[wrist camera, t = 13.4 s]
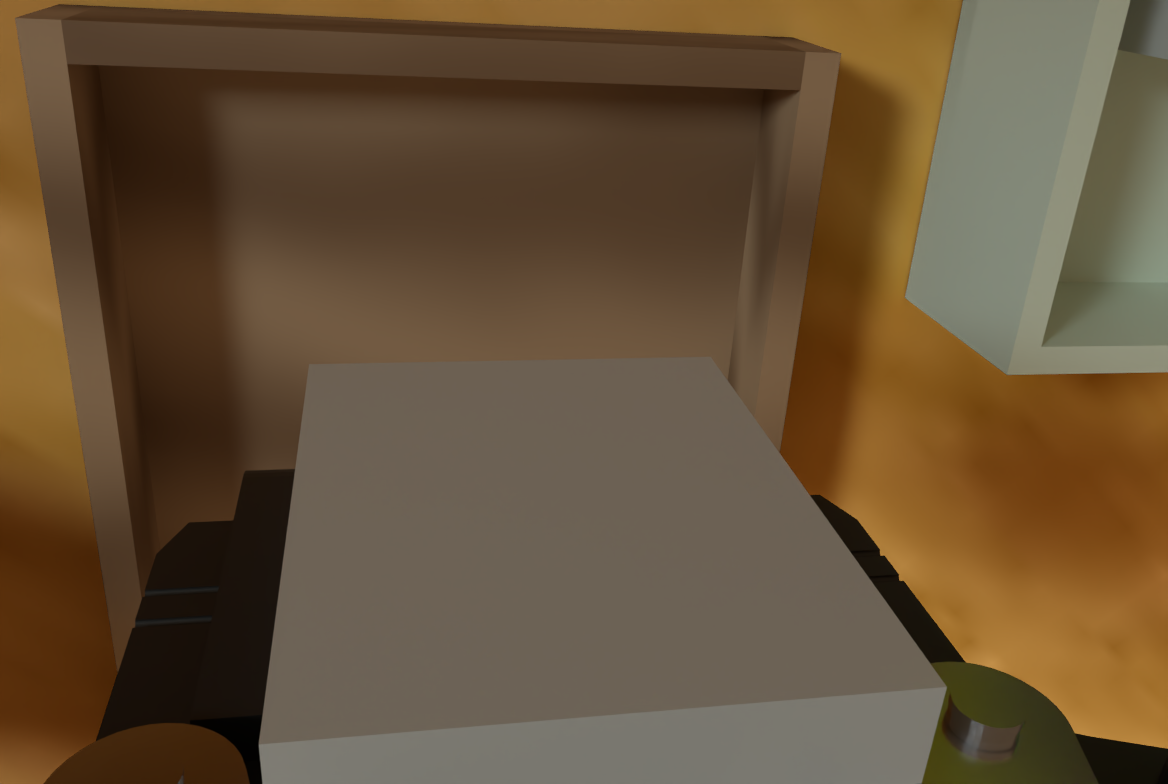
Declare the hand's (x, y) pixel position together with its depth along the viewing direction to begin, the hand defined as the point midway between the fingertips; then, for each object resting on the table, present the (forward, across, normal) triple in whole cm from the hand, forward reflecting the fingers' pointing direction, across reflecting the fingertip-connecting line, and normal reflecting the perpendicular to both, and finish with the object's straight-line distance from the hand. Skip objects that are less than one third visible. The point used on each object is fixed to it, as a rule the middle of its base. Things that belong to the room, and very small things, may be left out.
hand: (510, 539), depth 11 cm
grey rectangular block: (0, 0, 0) cm, 0 cm away
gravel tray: (+13, 0, +6) cm, 14 cm away
